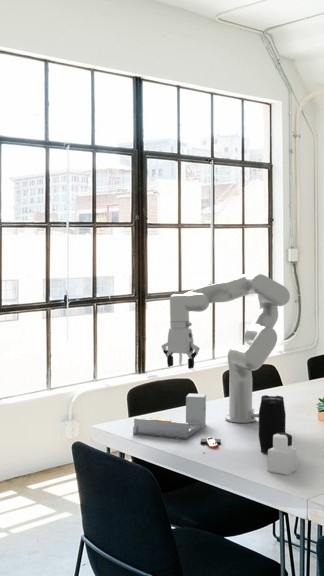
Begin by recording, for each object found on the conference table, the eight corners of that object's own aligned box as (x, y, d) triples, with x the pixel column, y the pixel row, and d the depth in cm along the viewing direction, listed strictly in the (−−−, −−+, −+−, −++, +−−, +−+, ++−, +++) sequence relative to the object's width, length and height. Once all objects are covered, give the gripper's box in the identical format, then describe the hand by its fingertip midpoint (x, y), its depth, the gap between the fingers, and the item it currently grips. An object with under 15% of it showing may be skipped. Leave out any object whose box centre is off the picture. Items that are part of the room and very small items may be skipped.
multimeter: (229, 457, 245) (229, 447, 244) (195, 455, 247) (195, 445, 246) (233, 444, 262) (233, 434, 262) (201, 442, 264) (201, 433, 264)
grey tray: (200, 430, 280) (200, 414, 279) (186, 440, 265) (186, 423, 265) (149, 425, 288) (149, 409, 287) (133, 434, 273) (133, 418, 273)
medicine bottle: (276, 466, 233) (277, 430, 233) (296, 469, 229) (297, 433, 229) (267, 471, 227) (267, 434, 227) (287, 475, 223) (288, 438, 223)
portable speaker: (254, 450, 252) (254, 395, 251) (277, 447, 255) (277, 393, 255) (266, 456, 244) (266, 400, 243) (289, 453, 247) (290, 398, 247)
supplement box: (203, 428, 282) (203, 397, 282) (185, 427, 284) (185, 396, 283) (206, 424, 290) (206, 393, 289) (188, 423, 291) (188, 392, 290)
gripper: (203, 324, 282) (203, 367, 283) (166, 323, 291) (167, 364, 293) (193, 327, 276) (194, 370, 277) (156, 325, 285) (157, 367, 286)
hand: (180, 367), depth 285 cm, fingers open, 9 cm apart
